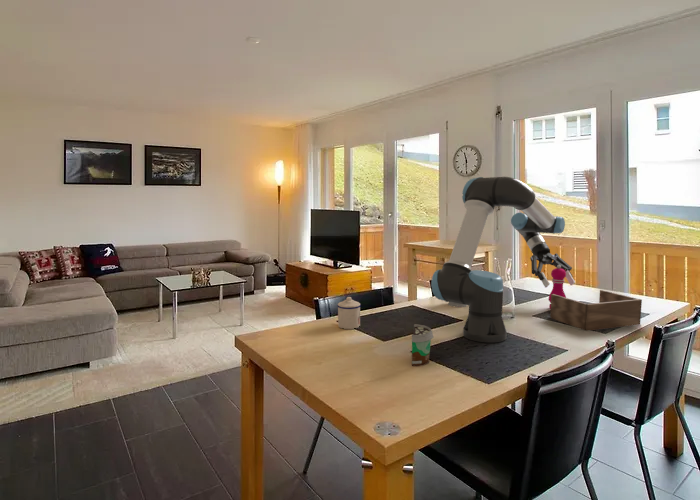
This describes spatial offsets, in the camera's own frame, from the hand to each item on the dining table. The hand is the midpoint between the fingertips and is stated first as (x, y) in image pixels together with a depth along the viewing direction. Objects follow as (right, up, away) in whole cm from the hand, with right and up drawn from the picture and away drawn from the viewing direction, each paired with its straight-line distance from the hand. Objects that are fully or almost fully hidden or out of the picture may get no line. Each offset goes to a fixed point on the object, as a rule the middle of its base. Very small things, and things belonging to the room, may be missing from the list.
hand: (560, 284), depth 196 cm
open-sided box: (+5, -13, -17) cm, 22 cm away
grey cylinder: (-40, -10, +12) cm, 43 cm away
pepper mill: (0, -11, +2) cm, 11 cm away
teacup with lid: (-94, -15, -20) cm, 97 cm away
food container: (-71, -19, -59) cm, 94 cm away
